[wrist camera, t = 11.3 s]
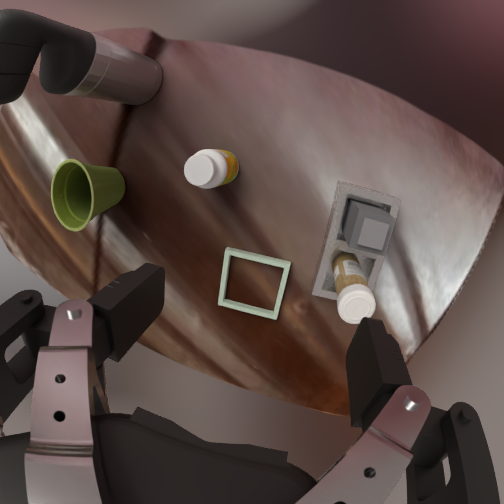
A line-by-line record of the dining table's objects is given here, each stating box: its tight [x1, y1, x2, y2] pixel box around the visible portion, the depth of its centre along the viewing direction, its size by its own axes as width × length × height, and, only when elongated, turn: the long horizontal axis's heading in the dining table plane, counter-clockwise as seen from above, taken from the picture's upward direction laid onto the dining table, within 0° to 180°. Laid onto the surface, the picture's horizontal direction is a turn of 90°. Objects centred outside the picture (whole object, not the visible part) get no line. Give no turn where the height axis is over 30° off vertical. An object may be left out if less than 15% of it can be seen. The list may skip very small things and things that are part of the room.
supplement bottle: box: [184, 149, 239, 189], centre depth 36 cm, size 5×5×10 cm
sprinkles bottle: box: [332, 253, 376, 324], centre depth 35 cm, size 5×4×13 cm
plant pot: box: [51, 159, 125, 231], centre depth 41 cm, size 12×12×11 cm
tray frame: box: [218, 247, 291, 320], centre depth 46 cm, size 11×11×1 cm
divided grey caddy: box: [312, 181, 401, 300], centre depth 39 cm, size 9×17×4 cm, turn 170°
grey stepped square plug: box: [341, 198, 396, 256], centre depth 34 cm, size 5×5×10 cm
